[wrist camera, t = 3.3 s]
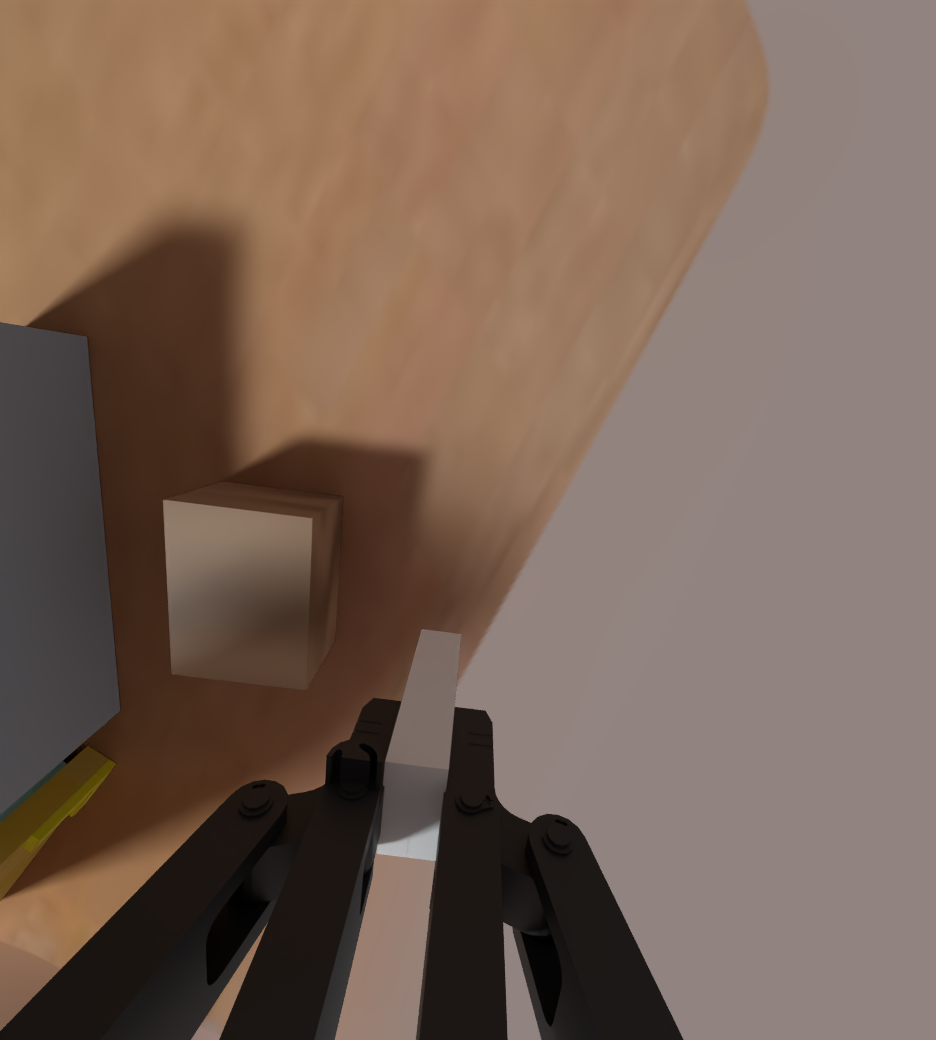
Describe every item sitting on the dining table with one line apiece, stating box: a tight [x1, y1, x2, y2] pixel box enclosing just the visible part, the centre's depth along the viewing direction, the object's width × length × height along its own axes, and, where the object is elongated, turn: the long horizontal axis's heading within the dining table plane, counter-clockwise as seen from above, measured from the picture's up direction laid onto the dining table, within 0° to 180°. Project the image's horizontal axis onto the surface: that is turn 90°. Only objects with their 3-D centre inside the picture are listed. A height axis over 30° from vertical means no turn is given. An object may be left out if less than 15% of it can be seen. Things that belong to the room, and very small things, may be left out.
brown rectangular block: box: [163, 481, 343, 691], centre depth 21 cm, size 8×6×4 cm
